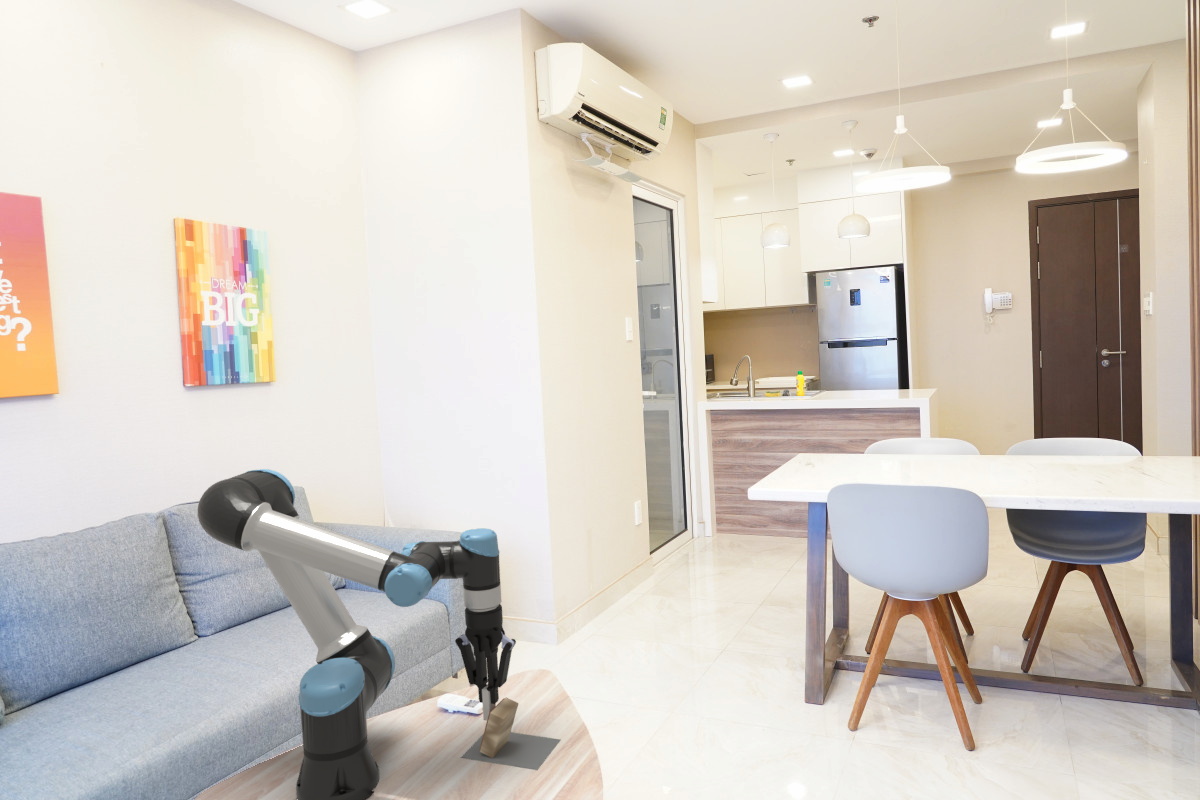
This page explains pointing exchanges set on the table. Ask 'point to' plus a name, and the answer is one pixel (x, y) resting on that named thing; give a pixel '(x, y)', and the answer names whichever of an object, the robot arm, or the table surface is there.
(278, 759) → the table surface
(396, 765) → the table surface
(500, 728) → the brown wooden block
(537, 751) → the mat
